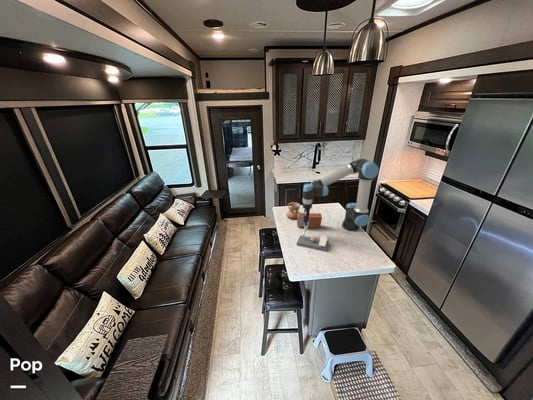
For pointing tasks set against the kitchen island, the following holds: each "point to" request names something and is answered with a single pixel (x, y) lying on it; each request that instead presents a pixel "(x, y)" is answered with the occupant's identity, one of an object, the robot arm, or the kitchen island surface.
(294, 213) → the ceramic jug
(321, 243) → the rocker switch
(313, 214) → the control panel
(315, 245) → the switch panel
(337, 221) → the kitchen island surface
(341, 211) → the kitchen island surface
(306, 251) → the kitchen island surface
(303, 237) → the toggle lever
